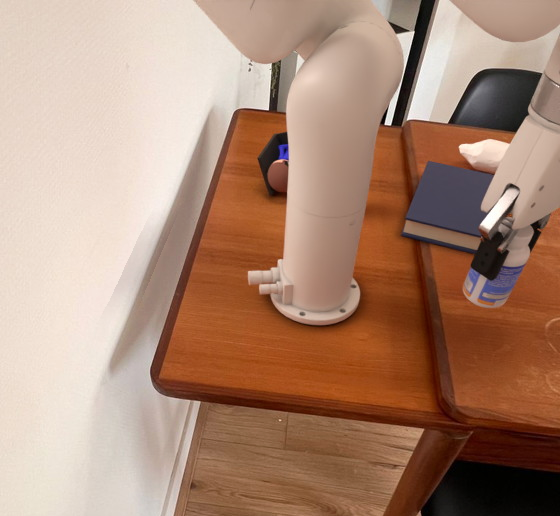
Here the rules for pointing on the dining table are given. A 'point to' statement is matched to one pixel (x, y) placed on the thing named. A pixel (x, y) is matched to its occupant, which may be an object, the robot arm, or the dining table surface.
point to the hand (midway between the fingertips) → (498, 262)
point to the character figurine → (275, 163)
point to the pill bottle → (501, 287)
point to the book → (448, 207)
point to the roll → (484, 154)
